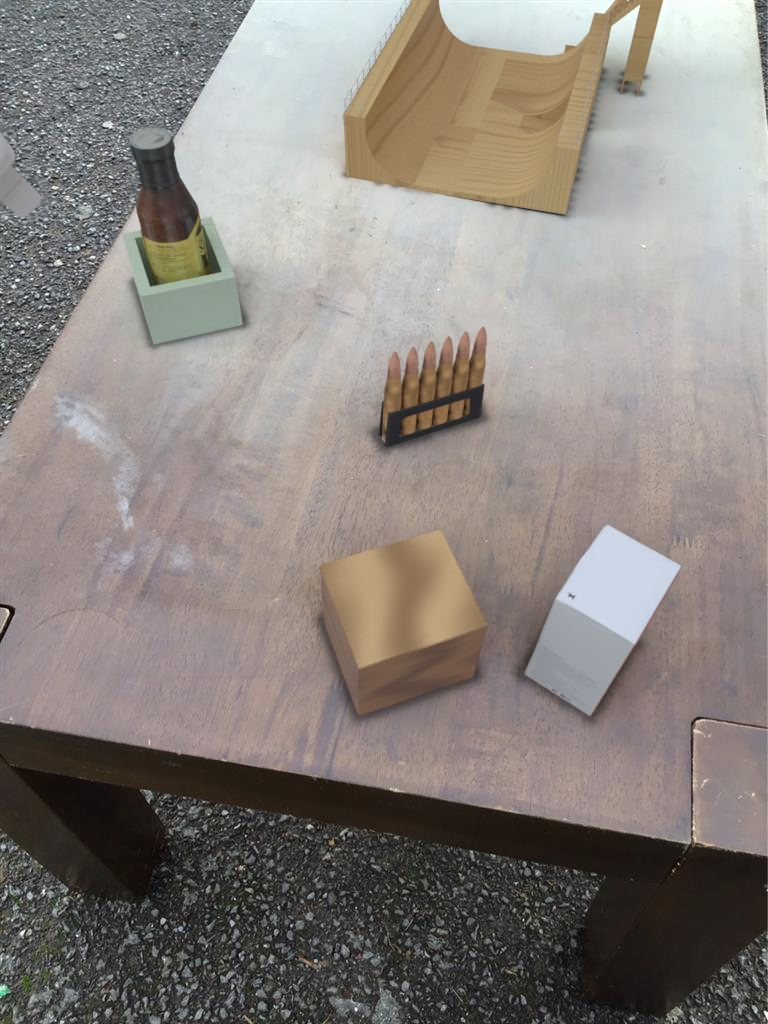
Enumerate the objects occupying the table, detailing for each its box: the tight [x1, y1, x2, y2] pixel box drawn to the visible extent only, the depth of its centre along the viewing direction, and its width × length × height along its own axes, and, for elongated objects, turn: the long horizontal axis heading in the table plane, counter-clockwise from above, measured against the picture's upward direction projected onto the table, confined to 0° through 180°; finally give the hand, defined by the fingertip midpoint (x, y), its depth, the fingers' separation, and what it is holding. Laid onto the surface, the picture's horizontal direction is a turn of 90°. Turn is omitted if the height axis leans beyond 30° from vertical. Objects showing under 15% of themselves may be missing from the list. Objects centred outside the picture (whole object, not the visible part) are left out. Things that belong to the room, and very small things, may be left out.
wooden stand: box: [319, 529, 489, 717], centre depth 64 cm, size 10×9×9 cm
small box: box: [523, 524, 682, 717], centre depth 63 cm, size 8×6×13 cm
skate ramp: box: [342, 0, 664, 215], centre depth 111 cm, size 40×35×16 cm
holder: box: [121, 216, 244, 346], centre depth 90 cm, size 10×11×7 cm
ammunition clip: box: [378, 326, 488, 448], centre depth 78 cm, size 11×2×12 cm, turn 114°
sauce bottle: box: [128, 127, 211, 286], centre depth 84 cm, size 6×6×20 cm
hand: (0, 171), depth 50 cm, fingers open, 8 cm apart
